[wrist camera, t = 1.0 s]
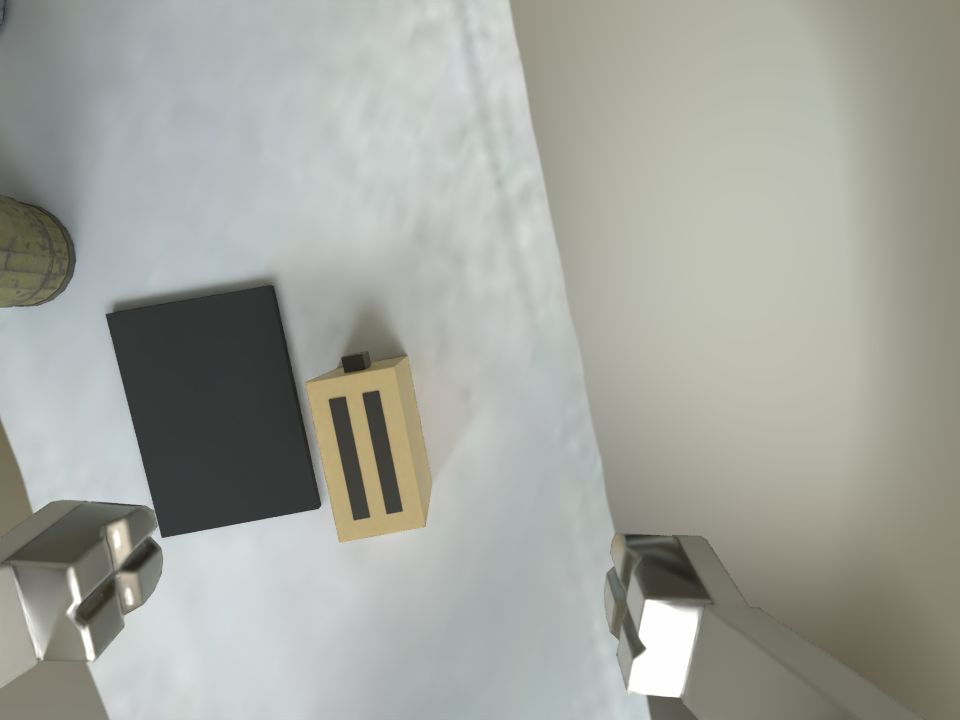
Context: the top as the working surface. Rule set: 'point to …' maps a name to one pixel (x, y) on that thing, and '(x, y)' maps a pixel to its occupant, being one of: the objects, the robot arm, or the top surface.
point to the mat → (215, 410)
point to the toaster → (371, 446)
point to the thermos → (32, 255)
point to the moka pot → (2, 10)
